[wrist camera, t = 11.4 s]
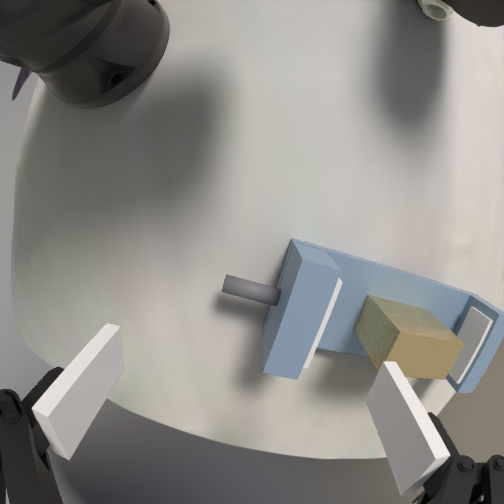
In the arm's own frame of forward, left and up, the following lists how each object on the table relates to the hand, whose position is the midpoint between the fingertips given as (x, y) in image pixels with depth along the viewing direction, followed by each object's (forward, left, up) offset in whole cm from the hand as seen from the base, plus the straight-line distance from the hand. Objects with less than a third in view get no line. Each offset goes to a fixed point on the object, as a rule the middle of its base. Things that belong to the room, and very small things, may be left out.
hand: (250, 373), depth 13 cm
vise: (+15, -1, -16) cm, 22 cm away
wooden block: (+15, -1, -15) cm, 21 cm away
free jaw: (+2, -1, -14) cm, 14 cm away
